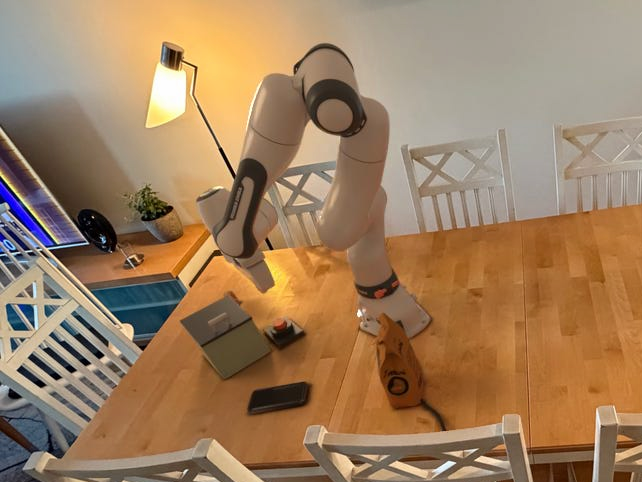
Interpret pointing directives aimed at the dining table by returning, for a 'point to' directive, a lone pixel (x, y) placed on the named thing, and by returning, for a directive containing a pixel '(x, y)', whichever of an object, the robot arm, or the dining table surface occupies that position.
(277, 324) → the button
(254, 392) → the phone
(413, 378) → the coffee package
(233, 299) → the lion figurine
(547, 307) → the dining table surface
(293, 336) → the block
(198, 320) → the lid
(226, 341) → the green box
